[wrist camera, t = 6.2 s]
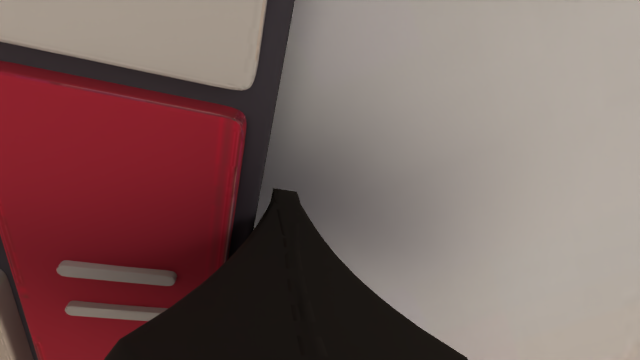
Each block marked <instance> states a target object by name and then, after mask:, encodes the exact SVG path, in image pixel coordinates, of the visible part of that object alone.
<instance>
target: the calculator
mask: <svg viewBox="0 0 640 360" xmlns="http://www.w3.org/2000/svg"><path fill="white" fill-rule="evenodd" d="M294 1H295V0H0V360H104V359H105V357H106V356H107V355H108V353H109V352H110V351H111V349H112V348H113V347H114V346H115V344H116V343H117V342H118V341H119V339H121V338H122V337H124V336H126V335H127V334H129V333H130V332H132V331H134V330H135V329H137V328H138V327H140V326H142V325H143V324H145V323H146V322H148V321H149V320H151V319H153V318H154V317H156V316H157V315H159V314H161V313H162V312H164V311H165V310H167V309H168V308H170V307H171V306H172V305H174V304H175V303H177V302H178V301H179V300H181V299H182V298H183V297H185V296H186V295H187V294H188V293H190V292H191V291H192V290H194V289H195V288H196V287H198V286H199V285H200V284H202V283H203V282H204V281H205V280H206V279H208V278H209V277H210V276H211V275H212V274H213V273H214V272H215V271H217V270H218V269H219V268H220V267H221V266H222V265H223V264H224V263H225V262H226V261H227V260H228V259H229V258H230V257H231V256H232V255H233V254H234V253H235V252H236V251H237V250H238V249H239V247H240V246H241V245H242V244H243V243H244V242H245V240H246V239H247V238H248V237H249V235H250V234H251V233H252V231H253V228H254V222H255V217H256V211H257V206H258V200H259V195H260V189H261V184H262V178H263V172H264V167H265V161H266V156H267V150H268V145H269V139H270V134H271V128H272V123H273V117H274V112H275V106H276V101H277V95H278V90H279V84H280V79H281V73H282V68H283V62H284V56H285V51H286V45H287V40H288V34H289V29H290V23H291V18H292V12H293V7H294Z"/></svg>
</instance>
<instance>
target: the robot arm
mask: <svg viewBox="0 0 640 360" xmlns="http://www.w3.org/2000/svg"><path fill="white" fill-rule="evenodd" d="M104 360H468V359H467V357H465V356H463V355H462V354H460V353H459V352H457V351H456V350H454V349H452V348H451V347H449V346H448V345H446V344H445V343H443V342H441V341H440V340H438V339H437V338H435V337H434V336H432V335H430V334H429V333H427V332H426V331H424V330H423V329H421V328H420V327H418V326H417V325H415V324H414V323H413V322H411V321H410V320H409V319H407V318H406V317H405V316H403V315H402V314H400V313H399V312H398V311H396V310H395V309H394V308H392V307H391V306H390V305H389V304H387V303H386V302H385V301H384V300H382V299H381V298H380V297H379V296H378V295H377V294H375V293H374V292H373V291H372V290H371V289H370V288H369V287H367V286H366V285H365V284H364V283H363V282H362V281H361V280H360V279H359V278H358V277H357V276H356V275H354V274H353V272H352V271H351V270H350V269H349V268H348V267H347V266H346V265H345V264H344V263H343V262H342V261H341V260H340V259H339V258H338V257H337V255H336V254H335V253H334V252H333V251H332V250H331V248H330V247H329V246H328V245H327V243H326V242H325V241H324V239H323V238H322V237H321V235H320V234H319V232H318V231H317V229H316V228H315V226H314V225H313V223H312V222H311V220H310V219H309V217H308V216H307V214H306V212H305V211H304V209H303V207H302V206H301V204H300V200H299V197H298V194H297V192H294V191H287V190H281V189H274V188H273V192H272V198H271V202H270V204H269V206H268V208H267V210H266V212H265V213H264V215H263V217H262V218H261V220H260V222H259V223H258V225H257V226H256V227H255V229H254V230H253V231H252V233H251V234H250V235H249V237H248V238H247V239H246V240H245V242H244V243H243V244H242V245H241V246H240V247H239V249H238V250H237V251H236V252H235V253H234V254H233V255H232V256H231V257H230V258H229V259H228V260H227V261H226V262H225V263H224V264H223V265H222V266H221V267H220V268H219V269H218V270H217V271H215V272H214V273H213V274H212V275H211V276H210V277H209V278H208V279H206V280H205V281H204V282H203V283H202V284H200V285H199V286H198V287H196V288H195V289H194V290H192V291H191V292H190V293H188V294H187V295H186V296H185V297H183V298H182V299H181V300H179V301H178V302H177V303H175V304H174V305H172V306H171V307H170V308H168V309H167V310H165V311H164V312H162V313H161V314H159V315H157V316H156V317H154V318H153V319H151V320H149V321H148V322H146V323H145V324H143V325H142V326H140V327H138V328H137V329H135V330H134V331H132V332H130V333H129V334H127V335H126V336H124V337H122V338H121V339H119V341H118V342H117V343H116V344H115V346H114V347H113V348H112V349H111V351H110V352H109V353H108V355H107V356H106V357H105V359H104Z"/></svg>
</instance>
